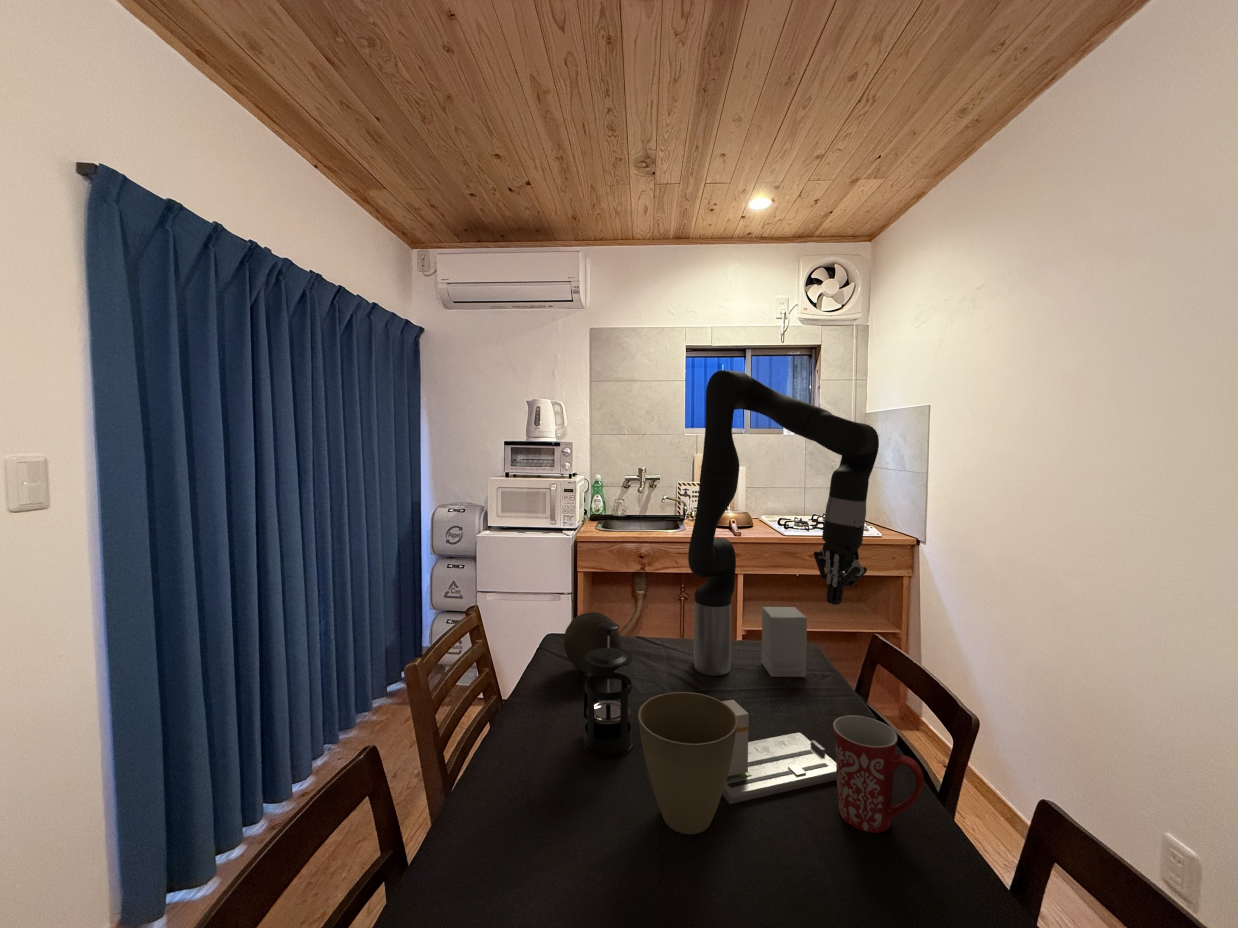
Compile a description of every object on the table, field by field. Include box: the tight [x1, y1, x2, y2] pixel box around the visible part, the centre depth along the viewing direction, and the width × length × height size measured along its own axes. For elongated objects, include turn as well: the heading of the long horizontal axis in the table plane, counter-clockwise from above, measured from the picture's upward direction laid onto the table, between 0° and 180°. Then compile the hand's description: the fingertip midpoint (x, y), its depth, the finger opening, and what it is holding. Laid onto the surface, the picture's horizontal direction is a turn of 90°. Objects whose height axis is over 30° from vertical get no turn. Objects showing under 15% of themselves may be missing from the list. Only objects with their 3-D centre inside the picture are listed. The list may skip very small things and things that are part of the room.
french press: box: [583, 622, 634, 760], centre depth 98 cm, size 12×9×23 cm
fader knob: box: [722, 699, 750, 776], centre depth 88 cm, size 5×4×10 cm
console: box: [722, 732, 837, 805], centre depth 90 cm, size 12×22×2 cm, turn 107°
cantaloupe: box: [563, 611, 622, 674], centre depth 128 cm, size 14×14×15 cm
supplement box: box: [761, 606, 808, 678], centre depth 131 cm, size 9×9×15 cm
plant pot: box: [637, 691, 738, 835], centre depth 78 cm, size 15×15×16 cm
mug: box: [832, 714, 925, 834], centre depth 77 cm, size 13×9×14 cm
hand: (833, 603), depth 106 cm, fingers closed
